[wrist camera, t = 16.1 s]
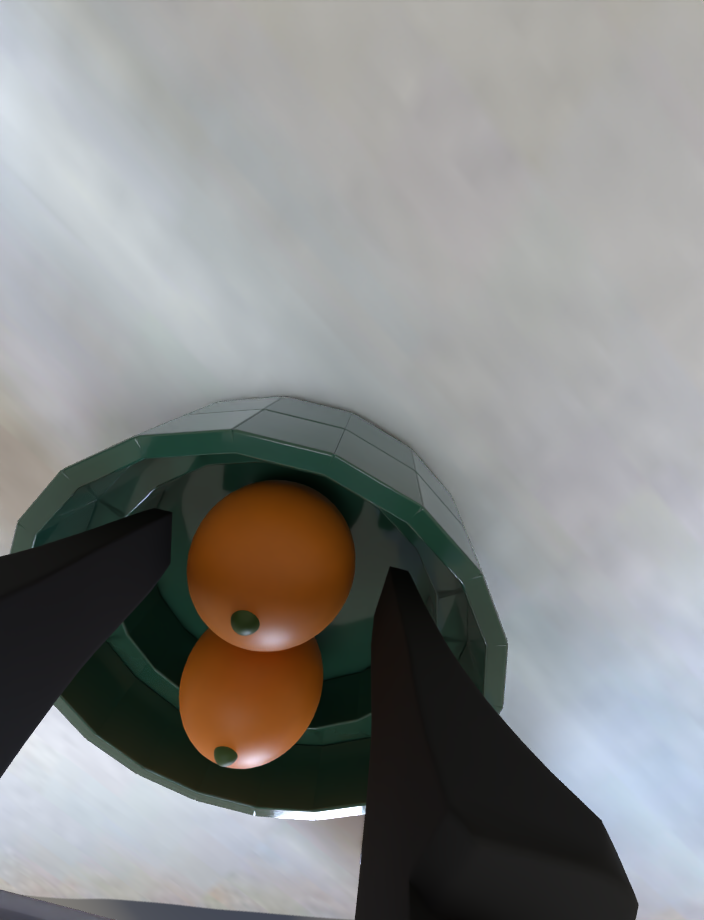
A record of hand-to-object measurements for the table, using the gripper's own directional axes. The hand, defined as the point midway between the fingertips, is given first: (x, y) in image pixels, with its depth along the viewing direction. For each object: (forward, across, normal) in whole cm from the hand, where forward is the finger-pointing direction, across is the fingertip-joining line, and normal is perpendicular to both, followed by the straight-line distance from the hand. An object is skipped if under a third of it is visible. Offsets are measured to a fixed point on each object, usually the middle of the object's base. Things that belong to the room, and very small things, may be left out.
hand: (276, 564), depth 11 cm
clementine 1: (+3, 0, 0) cm, 3 cm away
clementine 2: (+3, 0, +6) cm, 6 cm away
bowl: (+3, 0, +3) cm, 4 cm away
